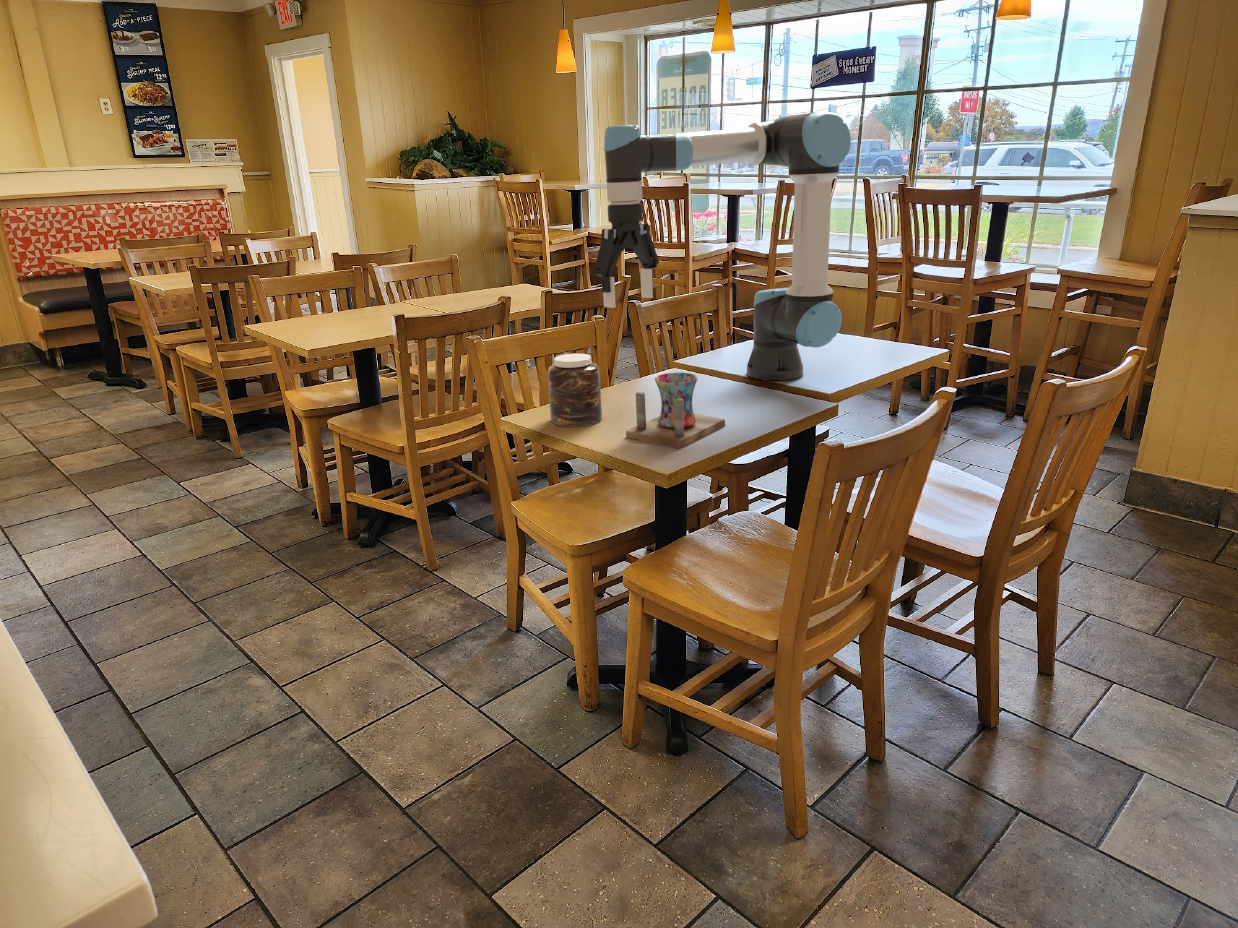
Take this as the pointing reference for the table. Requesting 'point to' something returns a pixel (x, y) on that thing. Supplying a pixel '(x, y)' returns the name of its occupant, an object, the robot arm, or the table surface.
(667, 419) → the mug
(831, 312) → the robot arm
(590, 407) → the jar
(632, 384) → the table surface
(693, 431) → the board
